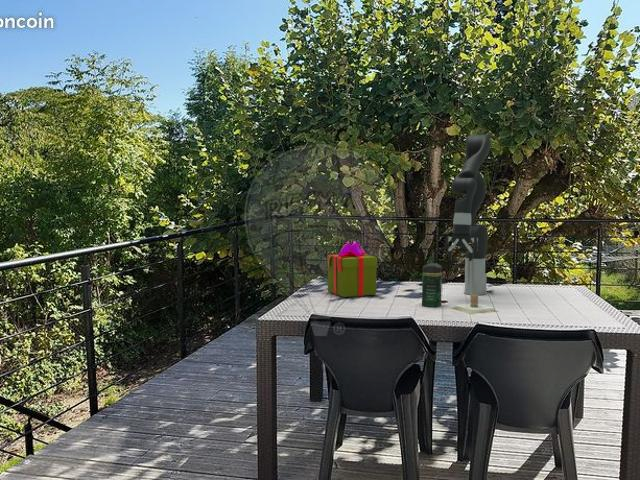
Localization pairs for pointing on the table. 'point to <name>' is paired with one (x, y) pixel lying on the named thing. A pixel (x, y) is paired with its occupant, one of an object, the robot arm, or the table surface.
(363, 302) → the table surface
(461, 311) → the mat
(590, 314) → the table surface
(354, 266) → the gift box
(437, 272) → the coffee jar
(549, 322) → the table surface
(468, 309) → the peg stand
